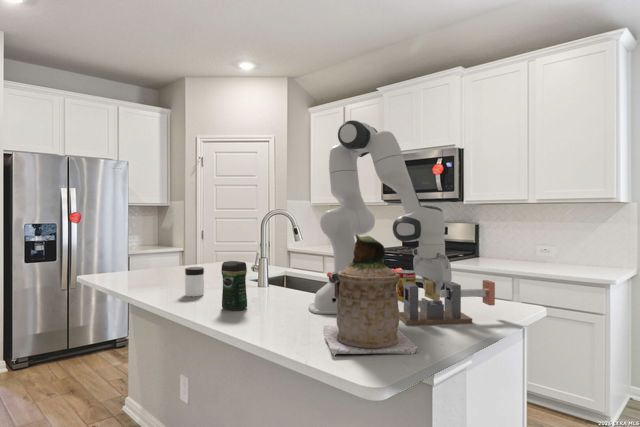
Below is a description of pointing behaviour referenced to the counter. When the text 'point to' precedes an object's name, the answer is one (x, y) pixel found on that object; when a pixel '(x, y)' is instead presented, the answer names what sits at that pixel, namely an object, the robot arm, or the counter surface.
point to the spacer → (431, 289)
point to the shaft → (477, 292)
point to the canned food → (404, 281)
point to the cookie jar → (367, 305)
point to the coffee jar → (234, 285)
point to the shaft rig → (433, 307)
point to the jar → (194, 281)
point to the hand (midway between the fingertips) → (431, 291)
